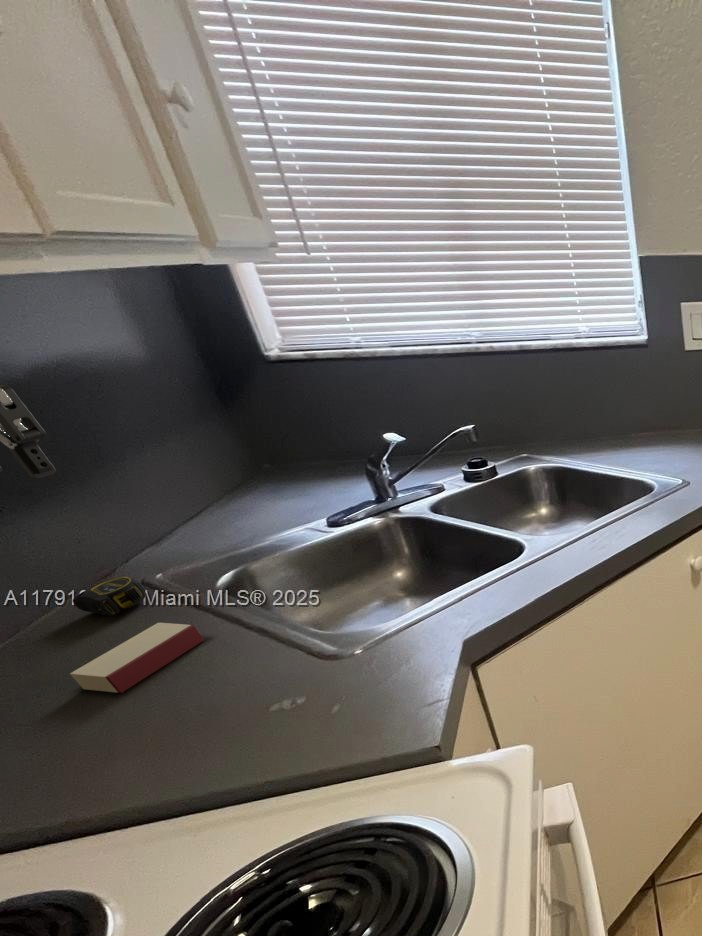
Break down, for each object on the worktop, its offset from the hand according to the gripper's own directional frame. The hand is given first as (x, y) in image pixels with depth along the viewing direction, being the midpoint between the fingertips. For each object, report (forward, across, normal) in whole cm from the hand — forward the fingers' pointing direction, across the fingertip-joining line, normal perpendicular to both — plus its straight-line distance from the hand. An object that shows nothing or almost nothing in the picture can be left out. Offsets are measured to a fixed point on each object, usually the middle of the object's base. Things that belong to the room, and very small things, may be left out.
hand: (18, 475), depth 76 cm
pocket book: (+24, -8, +6) cm, 26 cm away
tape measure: (+24, +11, -5) cm, 27 cm away
